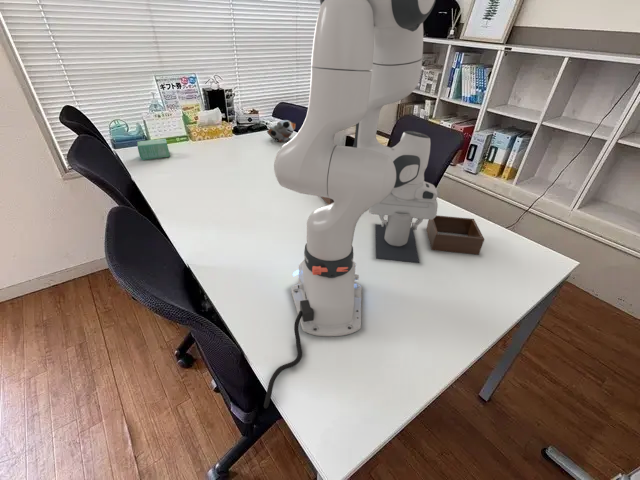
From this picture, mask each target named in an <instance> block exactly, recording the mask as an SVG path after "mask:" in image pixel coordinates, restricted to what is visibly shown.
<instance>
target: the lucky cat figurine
mask: <svg viewBox="0 0 640 480" xmlns="http://www.w3.org/2000/svg"><path fill="white" fill-rule="evenodd" d="M295 130H296V122H292V121H291V120H288V119H283V120H280V121H278V122H276V124H275V125H273V126H271V127H270V128H268V129H267V131H266V133H267V134H268V135H269V137H270V138H271V139H272V140H275V141H277V142H278V143H281V142H287V141H288V140H289V138H290V137H291V136H292V135H293V133H294V131H295Z"/></svg>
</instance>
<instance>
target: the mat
mask: <svg viewBox="0 0 640 480" xmlns="http://www.w3.org/2000/svg"><path fill="white" fill-rule="evenodd" d="M374 228H375V259H376V260H386V261H387V260H388V261H395V262H407V263H416V264H420V256H419V253H418V247H417V243H416V238H415V233H414V230H412V228H410V233H409V237H408V241H407V243H406V244H405V245H403V246H398V247H397V246H392V245H390V244H388V243H387V242H386V240H385V238H384V237H385V231H386V227H382V224H377V223H375V225H374Z"/></svg>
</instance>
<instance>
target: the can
mask: <svg viewBox="0 0 640 480" xmlns="http://www.w3.org/2000/svg"><path fill="white" fill-rule="evenodd" d="M394 213H395V214H394V215H392V216H387V219H386V220H387V225H386V231H385V237H384V238H385V240H386V242H387V243H388V244H390V245H392V246H397V247H398V246H403V245H405V244H406V243H407V241H408V237H409V233H410V228H411V226H412V222H413V220H414V218H412V217H410V216H409V214H410V213H409V214H399V213H396V212H394Z"/></svg>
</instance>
